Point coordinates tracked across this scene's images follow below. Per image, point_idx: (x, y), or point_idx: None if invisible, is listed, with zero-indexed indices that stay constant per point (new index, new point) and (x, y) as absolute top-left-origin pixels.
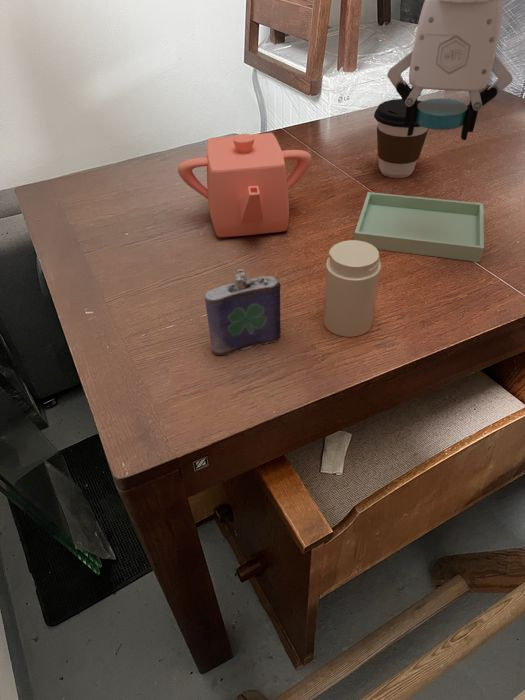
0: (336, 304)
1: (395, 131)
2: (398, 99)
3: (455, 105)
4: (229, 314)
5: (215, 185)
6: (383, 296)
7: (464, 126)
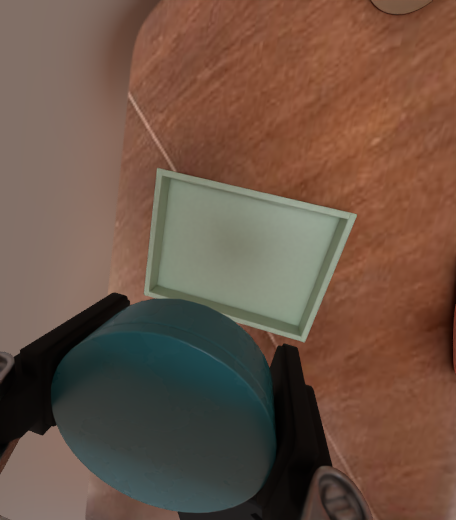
0: None
1: None
2: None
3: (99, 432)
4: None
5: None
6: (326, 57)
7: (98, 317)
